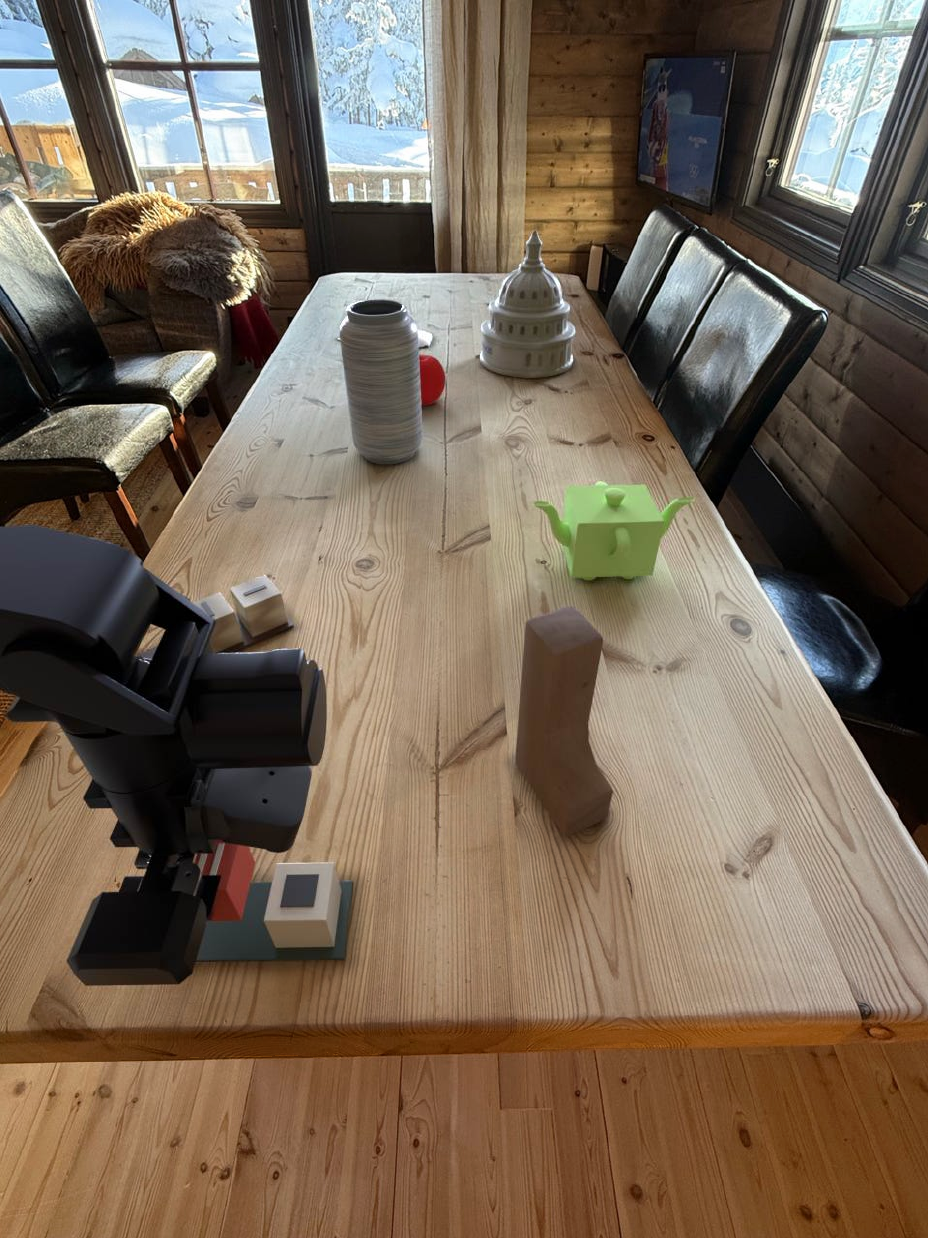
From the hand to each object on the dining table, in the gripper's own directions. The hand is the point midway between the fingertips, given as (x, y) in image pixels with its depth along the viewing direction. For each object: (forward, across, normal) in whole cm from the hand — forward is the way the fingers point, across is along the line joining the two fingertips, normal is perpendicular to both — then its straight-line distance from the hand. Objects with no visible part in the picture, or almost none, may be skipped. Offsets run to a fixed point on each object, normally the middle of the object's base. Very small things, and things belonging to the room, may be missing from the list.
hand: (214, 886), depth 47 cm
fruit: (+6, +100, -11) cm, 101 cm away
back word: (+6, +32, +10) cm, 34 cm away
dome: (+6, +121, -33) cm, 126 cm away
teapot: (+6, +46, -37) cm, 60 cm away
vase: (+6, +79, -6) cm, 79 cm away
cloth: (+6, +137, -1) cm, 137 cm away
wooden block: (+6, +12, -27) cm, 30 cm away
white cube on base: (+6, 0, -3) cm, 6 cm away
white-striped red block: (+1, 0, 0) cm, 1 cm away
